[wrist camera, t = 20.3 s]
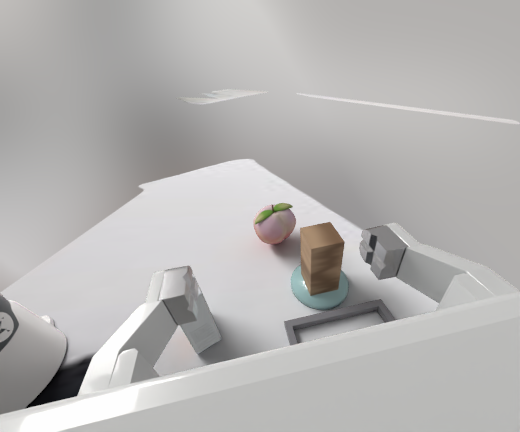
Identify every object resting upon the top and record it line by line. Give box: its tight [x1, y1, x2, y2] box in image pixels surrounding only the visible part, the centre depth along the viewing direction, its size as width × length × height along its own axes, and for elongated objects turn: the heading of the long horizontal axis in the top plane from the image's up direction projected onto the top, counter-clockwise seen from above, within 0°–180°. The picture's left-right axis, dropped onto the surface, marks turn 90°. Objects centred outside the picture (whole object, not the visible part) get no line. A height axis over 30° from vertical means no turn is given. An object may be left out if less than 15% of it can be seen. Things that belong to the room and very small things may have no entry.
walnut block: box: [300, 222, 344, 296], centre depth 39 cm, size 5×5×11 cm
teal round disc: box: [291, 265, 349, 310], centre depth 42 cm, size 10×10×1 cm
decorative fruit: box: [254, 203, 296, 244], centre depth 51 cm, size 9×8×10 cm
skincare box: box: [180, 273, 222, 354], centre depth 34 cm, size 6×4×12 cm
